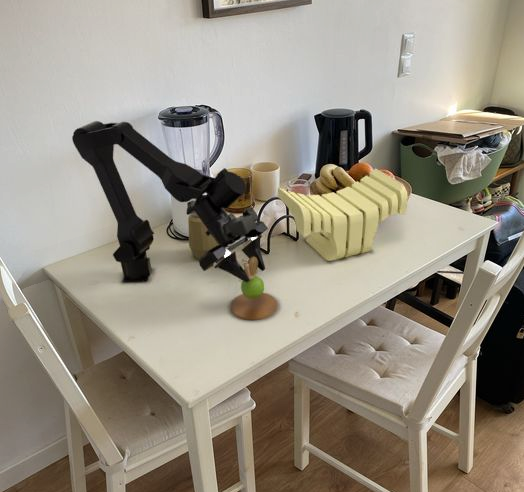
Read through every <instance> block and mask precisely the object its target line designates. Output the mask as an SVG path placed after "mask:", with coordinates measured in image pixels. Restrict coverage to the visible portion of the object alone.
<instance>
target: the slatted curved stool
mask: <svg viewBox="0 0 524 492" xmlns="http://www.w3.org/2000/svg"><path fill="white" fill-rule="evenodd" d="M277 198H278V199H279V200H280V201H281V202H282V203H283V204H284V205H286V207H287V209H288V210H289V211H290V213H291V214H292V217H293V219H294V223H295V228H296V232H298V234H299V235H300V236H301V237H303V238H306V237H307V238H306V239H305V241H306V242H307V243H308V244H309V246H311V247H312V248H313V249H314V250H315V251H316V253H318V254H319V255H320V256H321V257H322V258H324V260H326V261H328V262H330V261H335V260H338V259H343V258H346V257H351V256H357V255H359V254H364V253H367V252H372V248H373V242H374V238H375V236H376V233H377V230H378V228H379V222H381V223H382V222H383V221H384V220H386V219H388V217H389V216H391V217H393V216H397V215H398V214H399V215H407V208H408V200H409V199H408V198H409V195H408V192H407V187H405V185H404V183H402V182H400V181H398V180H397V179H395V178H393V177H391V176H390V175H388V174H386V173H384V171H381V170H379V169H377V168H374V169H373V170H371V171H370V172H369V175H365V176H364V177H362V178H360V180H359V181H355V182H354V183H352V184H351V186H346V187H344V188H342V189H339V190H336V193H335V192H333V191H332V192H328V193H323V194H321V195H320V194H306V195H305V194H303V193H295V192H294V191H291V190H287V191H286V189H284V188H281V187H279V186H278V187H277Z"/></svg>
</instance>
